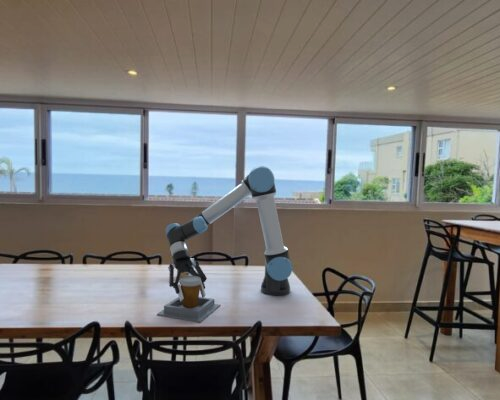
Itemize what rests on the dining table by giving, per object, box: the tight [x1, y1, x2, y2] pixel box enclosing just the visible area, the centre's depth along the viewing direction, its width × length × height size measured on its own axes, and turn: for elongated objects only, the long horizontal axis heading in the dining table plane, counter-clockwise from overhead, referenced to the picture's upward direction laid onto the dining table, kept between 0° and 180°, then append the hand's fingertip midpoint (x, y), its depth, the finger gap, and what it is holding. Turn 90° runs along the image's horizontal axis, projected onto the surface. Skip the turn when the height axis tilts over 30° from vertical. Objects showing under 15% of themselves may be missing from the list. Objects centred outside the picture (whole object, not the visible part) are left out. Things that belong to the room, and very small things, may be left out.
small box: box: [176, 257, 195, 278], centre depth 207 cm, size 8×6×10 cm
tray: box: [156, 296, 221, 323], centre depth 155 cm, size 20×20×4 cm
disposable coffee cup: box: [178, 276, 202, 308], centre depth 155 cm, size 10×10×12 cm
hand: (193, 298), depth 152 cm, fingers closed on disposable coffee cup, 9 cm apart
